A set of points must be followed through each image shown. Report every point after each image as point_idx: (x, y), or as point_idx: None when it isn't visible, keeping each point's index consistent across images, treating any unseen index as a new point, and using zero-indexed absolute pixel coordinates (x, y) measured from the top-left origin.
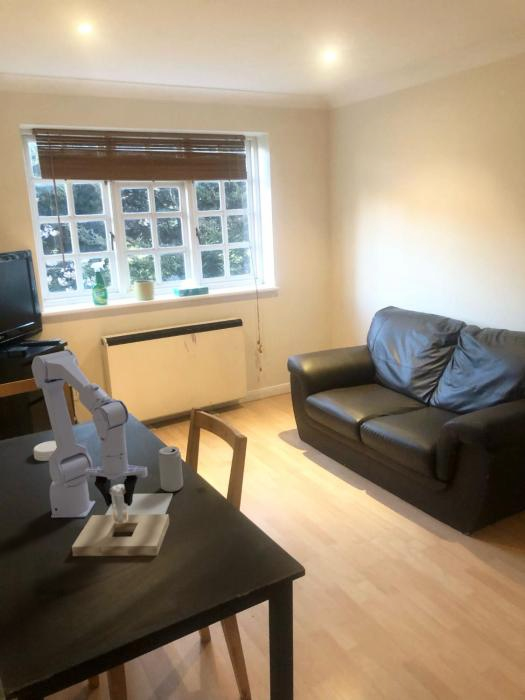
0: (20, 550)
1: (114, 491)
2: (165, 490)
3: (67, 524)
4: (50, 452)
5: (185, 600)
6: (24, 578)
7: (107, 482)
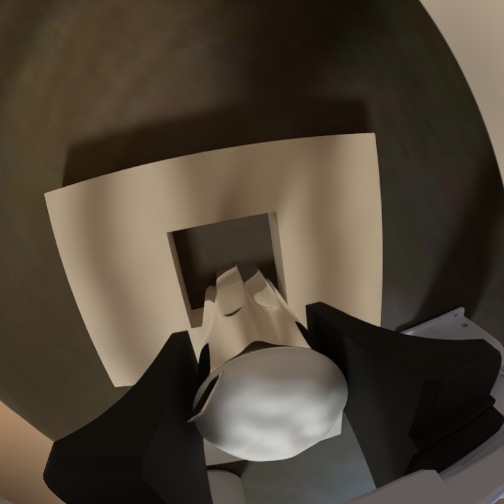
0: (478, 162)
1: (288, 379)
2: (219, 471)
3: (426, 292)
4: None
5: None
6: (418, 41)
7: (385, 433)
